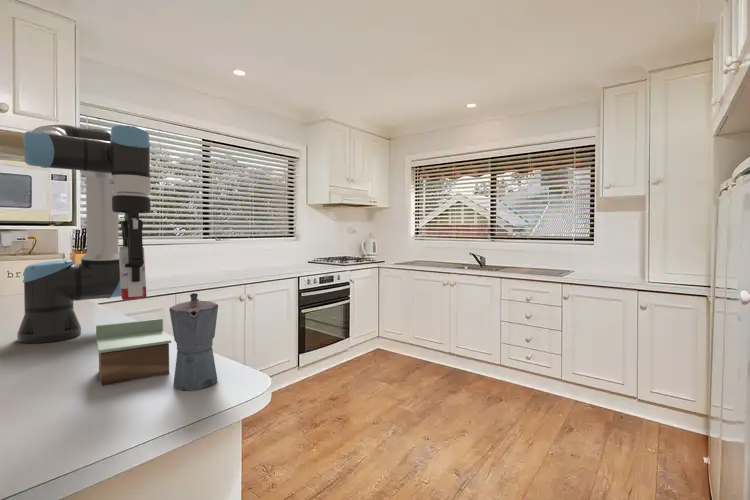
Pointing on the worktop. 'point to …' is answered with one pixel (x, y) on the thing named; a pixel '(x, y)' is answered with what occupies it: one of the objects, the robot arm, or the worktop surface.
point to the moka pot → (194, 343)
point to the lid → (130, 335)
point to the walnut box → (133, 364)
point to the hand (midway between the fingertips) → (132, 293)
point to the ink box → (124, 274)
